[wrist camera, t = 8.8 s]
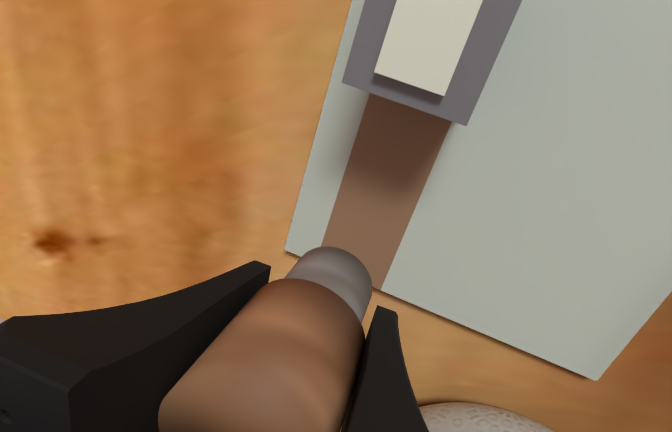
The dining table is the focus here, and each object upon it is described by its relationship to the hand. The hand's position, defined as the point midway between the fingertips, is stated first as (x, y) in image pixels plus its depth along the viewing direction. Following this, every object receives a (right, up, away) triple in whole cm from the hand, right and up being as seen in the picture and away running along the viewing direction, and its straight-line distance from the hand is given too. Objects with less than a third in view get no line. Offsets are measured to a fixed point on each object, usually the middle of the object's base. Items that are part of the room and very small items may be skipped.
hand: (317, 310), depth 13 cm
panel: (+9, +7, +5) cm, 12 cm away
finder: (+5, +12, +3) cm, 13 cm away
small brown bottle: (0, +1, +2) cm, 2 cm away
